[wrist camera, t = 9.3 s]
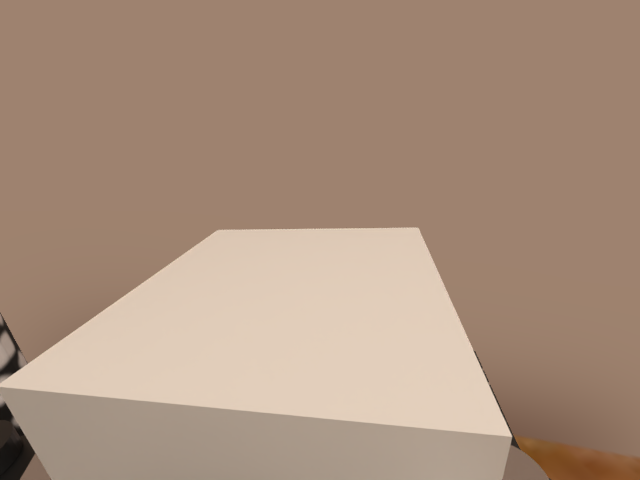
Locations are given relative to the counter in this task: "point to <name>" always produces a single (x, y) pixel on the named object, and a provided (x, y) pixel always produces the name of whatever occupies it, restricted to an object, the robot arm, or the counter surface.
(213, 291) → the block
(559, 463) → the counter surface
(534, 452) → the counter surface
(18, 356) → the white-spotted black cylinder
